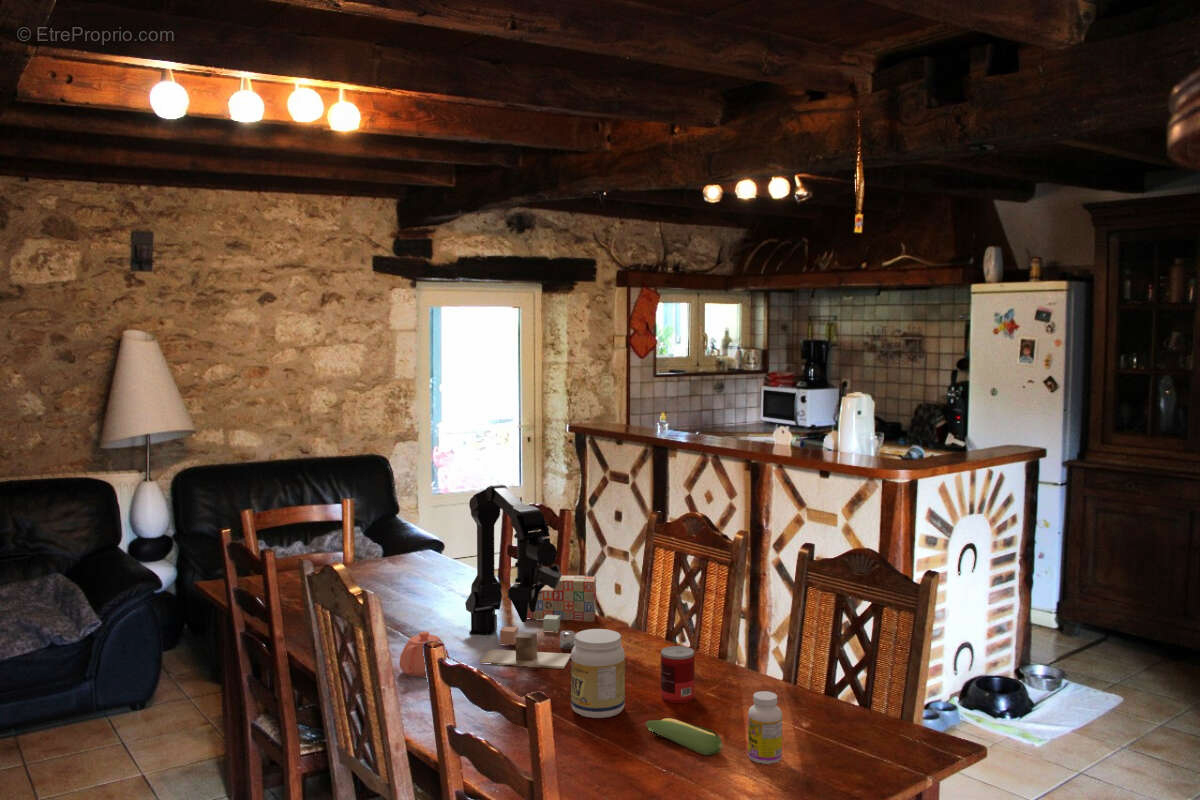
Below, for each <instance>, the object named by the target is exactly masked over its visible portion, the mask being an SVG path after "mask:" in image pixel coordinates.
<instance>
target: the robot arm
mask: <svg viewBox="0 0 1200 800" xmlns="http://www.w3.org/2000/svg"><path fill="white" fill-rule="evenodd" d="M468 504H469V505H468V506H469V509H470V516H471V517H472V519H473V520H474V522H475V524H476V565H477V566H476V577H475V578H474V579H473V582H472V584H471V586H470V588H471V590H470V593H469V596H468V597H467V598H466V600H465V610H466V611H467V612H469V613H470V630H469V632H468V633H469V634H470V635H489V636H490V634H491V635H493V634H494V632H496V630H497V629H498V615H497V613H496V610H500V609H501V605H502V600H503V599H502V598H503V593H502V583H501V582H499V581H498V579H497V578H496V575H495V525H496V524H497V521H499V520H498V519H499V518H500V516H501V510H502V511H503V512H504V513H505V514H506V515H507V516H509V518H510V525H511V527H512V528H513V529H514V531H515V534H514V535H513V537H514V539H516V556H517V557H516V562H515V563H514V567H515V568H516V571H517V572H516V577H515V581H514V582H515V583H513V584H512V585H511V586H510V587H509V588H508V589H507V598H508V599H509V601H511V603H512V605H513V606H514V608H515V610H516V613H517V614H518V618H519V619H520V621H521V622H522V623H526V622H527V621H528V620H527V614H528V608H530V611H531V612H535V609H536V605H537V600H538V596H539V592H540V590H541V589H542V588H543V587H544V586H545V585H548V586H549V587H550V588H556V586H558V583H559V580H560V578H561V576H563V574H562V572H561V571H560V565H558V564H556V563H554V562H555V561H556V559H557V556H558V550H557V546H555V544H554V543H551V538H550V531H549V530H550V528H549V526H548V523H547V521H546V519H545V516H544V514H543V513H542V510H540V509H539V508H538V507H536V506H534V505H529V504H525V503H523V502H522V501H521V500H520V499H519V498H518V497H517V496H515V494H513V493H512V492H511V491H510V490H509V489H508V487H507V486H506V485H504V484H496V485H489V486H487V487H486V488H485V489H483V490H481V491H480V492H476V494H475V493H474V495H472V497H471V498H470V499H469V503H468ZM553 563H554V564H553ZM552 564H553V565H552ZM549 565H551V567H549Z"/></svg>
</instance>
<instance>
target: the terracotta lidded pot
mask: <svg viewBox="0 0 1200 800" xmlns="http://www.w3.org/2000/svg"><path fill="white" fill-rule="evenodd" d="M427 641H439V642H441V643H443V641H442V640H441V638H440V637H439V636H438V635H435V634H430V632H429V631H421V632H419V633H418V635H417V634H416V635H414V636H412V637H410V638H408V641H407V642H406V644H405V645H404V647H403V649H402V651H401V653H400V658H399V668H400V669H401V670H402V671H403V672H404V673H405V674H406V676H409V675H410V676H411V677H418V678H423V679H427V678H426V671H425V662H424V656H423V644H424V643H425V642H427ZM443 644H444V643H443ZM445 648H446V654H447V658H448V659H449V660H450V655H449V652H448V649H447V647H446V646H445ZM410 676H409V677H410ZM424 677H425V678H424Z"/></svg>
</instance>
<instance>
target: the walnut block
mask: <svg viewBox="0 0 1200 800" xmlns="http://www.w3.org/2000/svg"><path fill="white" fill-rule="evenodd" d="M537 639H538V634H537V632H530V631H529V632H527V631H526V632H525V631H518V635H517V636H516V645H515V651H516V660H523V661H533V660H534V659H535V657H536V656H537V652H538V644H537V643H538V642H537V641H538V640H537Z"/></svg>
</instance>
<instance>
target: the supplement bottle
mask: <svg viewBox="0 0 1200 800" xmlns="http://www.w3.org/2000/svg"><path fill="white" fill-rule="evenodd" d="M752 701H753V705H751V706H750V707H749V709H748V711H747V713H748V715H747V718H748V723H747V724H748V725H747V727H748V728H747V756H748V758H749V759H750V760H751V762H753V761H754V763H756V762H757V763H756V764H759V763H762V764H761V765H765V764H768V765H772V764H771V763H775V764H777V763H779V762H781V759H782V756H783V712H782V709H781V708H780V707H779V706H777V704H778V695H777V694H776V693H775V692H771V691H766V690H763V691H761V690H760V691H755V692H754V693H753V697H752Z"/></svg>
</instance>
